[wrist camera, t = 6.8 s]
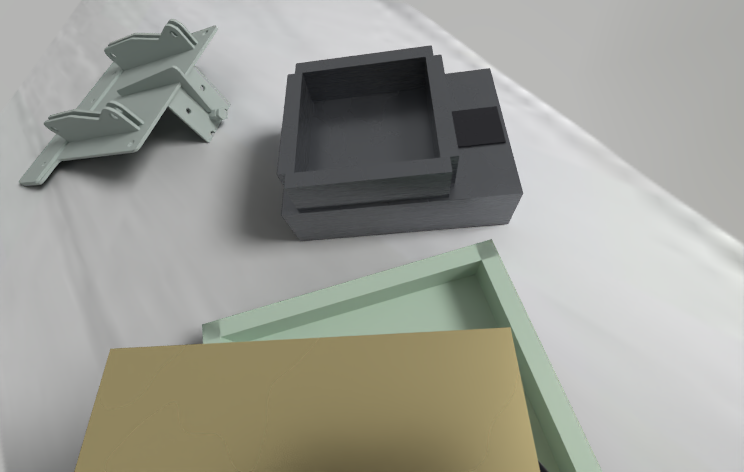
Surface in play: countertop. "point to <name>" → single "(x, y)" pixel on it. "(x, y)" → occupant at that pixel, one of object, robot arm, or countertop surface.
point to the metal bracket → (136, 99)
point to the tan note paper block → (315, 406)
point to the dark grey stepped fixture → (393, 147)
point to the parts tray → (427, 314)
